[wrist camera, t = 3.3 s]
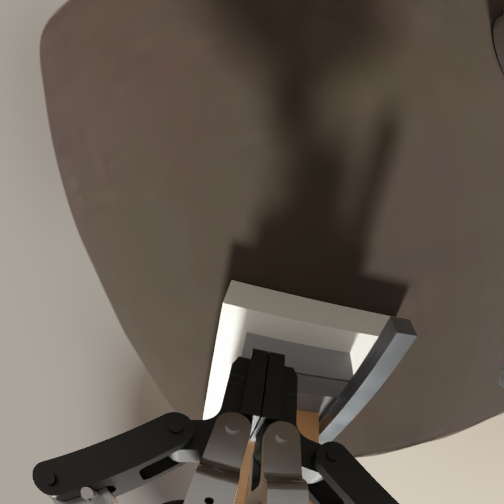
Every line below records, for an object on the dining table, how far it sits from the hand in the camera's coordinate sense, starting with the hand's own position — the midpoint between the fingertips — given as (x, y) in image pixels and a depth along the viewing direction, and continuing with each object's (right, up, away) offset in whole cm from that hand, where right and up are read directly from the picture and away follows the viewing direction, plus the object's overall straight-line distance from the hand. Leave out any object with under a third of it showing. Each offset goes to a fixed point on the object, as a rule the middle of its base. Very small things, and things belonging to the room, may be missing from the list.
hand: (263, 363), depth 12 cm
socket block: (+3, -7, +13) cm, 15 cm away
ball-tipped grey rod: (+5, -6, +4) cm, 8 cm away
